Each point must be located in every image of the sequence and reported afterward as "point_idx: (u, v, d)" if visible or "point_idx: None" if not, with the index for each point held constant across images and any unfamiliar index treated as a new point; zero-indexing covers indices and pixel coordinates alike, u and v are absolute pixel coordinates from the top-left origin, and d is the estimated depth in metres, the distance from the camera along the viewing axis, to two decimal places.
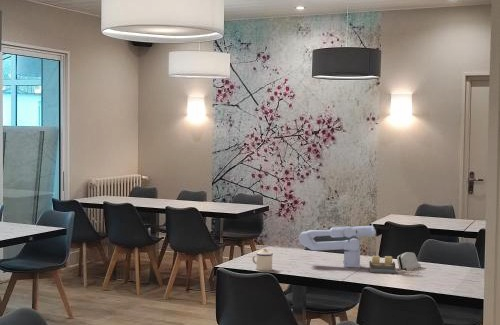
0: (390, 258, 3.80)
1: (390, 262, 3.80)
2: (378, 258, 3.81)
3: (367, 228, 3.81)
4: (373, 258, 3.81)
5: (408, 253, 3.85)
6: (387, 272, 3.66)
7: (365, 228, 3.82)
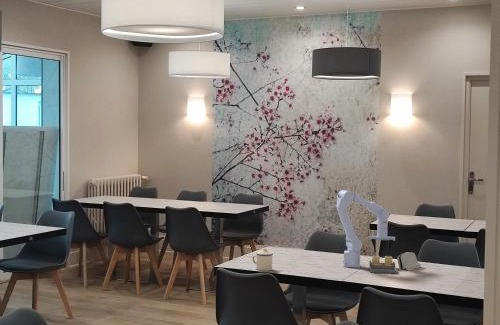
0: (390, 258, 3.80)
1: (390, 262, 3.80)
2: (378, 258, 3.81)
3: None
4: (373, 258, 3.81)
5: (408, 253, 3.85)
6: (387, 272, 3.66)
7: None
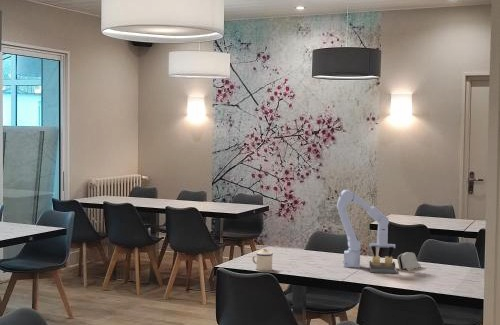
0: (390, 258, 3.79)
1: (390, 262, 3.79)
2: (378, 258, 3.80)
3: None
4: (373, 258, 3.80)
5: (408, 253, 3.85)
6: (387, 272, 3.66)
7: None
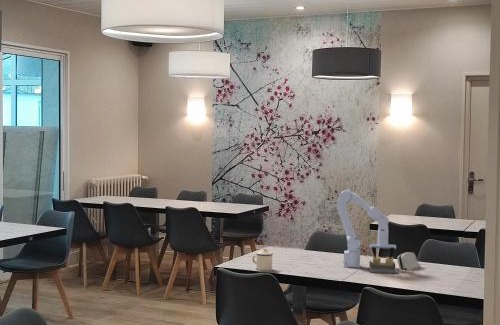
0: (391, 260, 3.75)
1: (391, 264, 3.75)
2: (379, 260, 3.76)
3: None
4: (374, 260, 3.76)
5: (408, 253, 3.84)
6: (387, 272, 3.66)
7: None
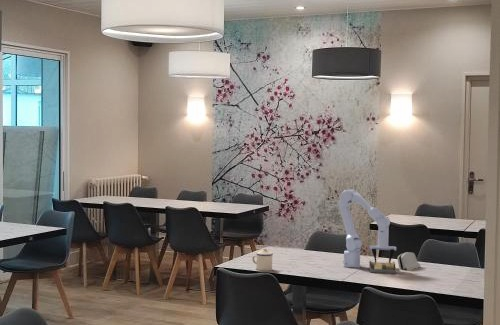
0: None
1: None
2: None
3: None
4: None
5: (408, 253, 3.84)
6: (387, 272, 3.66)
7: None
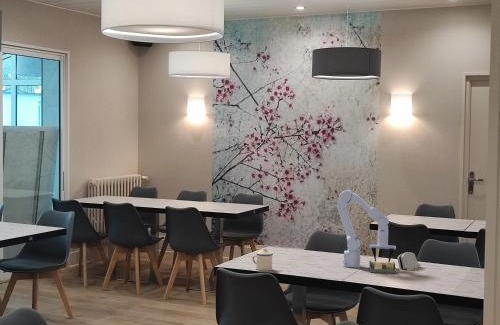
0: None
1: None
2: None
3: None
4: None
5: (408, 253, 3.84)
6: (387, 272, 3.66)
7: None
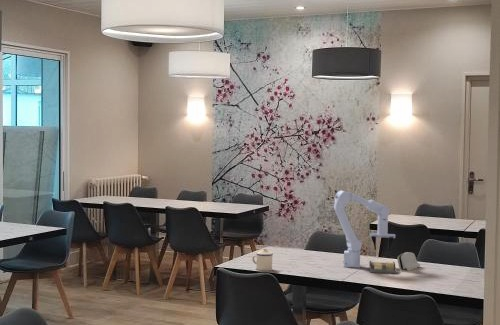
0: None
1: None
2: None
3: None
4: None
5: (408, 253, 3.84)
6: (387, 272, 3.66)
7: None
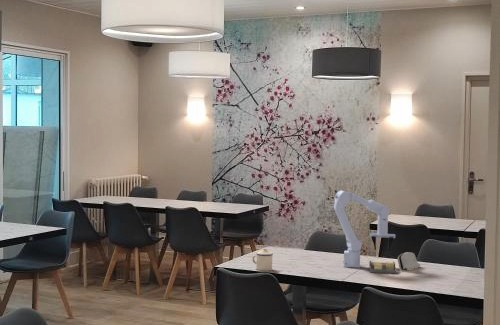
0: None
1: None
2: None
3: None
4: None
5: (408, 253, 3.84)
6: (387, 272, 3.66)
7: None
